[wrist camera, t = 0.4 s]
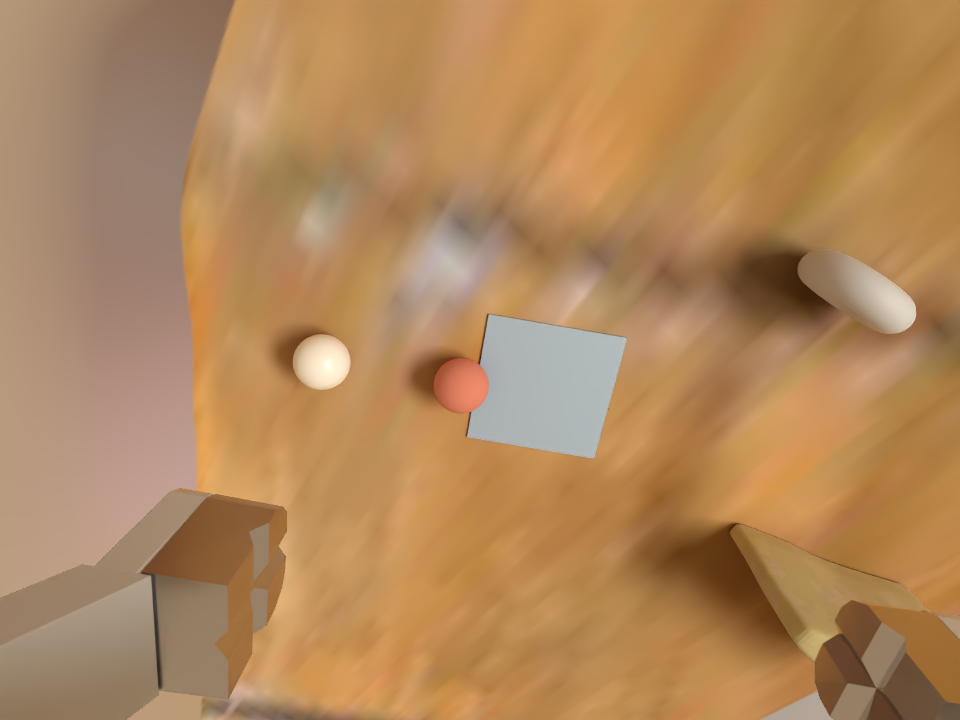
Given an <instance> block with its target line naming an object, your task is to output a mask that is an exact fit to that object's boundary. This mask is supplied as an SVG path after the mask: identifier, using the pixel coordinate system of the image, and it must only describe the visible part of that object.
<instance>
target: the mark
mask: <svg viewBox="0 0 960 720" xmlns="http://www.w3.org/2000/svg"><path fill="white" fill-rule="evenodd" d="M626 341H627V338H626V337H620V336H615V335H609V334H603V333H597V332H591V331H586V330H580V329H574V328H568V327H562V326H557V325H551V324H545V323H539V322H533V321H528V320H522V319H516V318H510V317H504V316H499V315H493V314H489V316H488V321H487V327H486V333H485V338H484V344H483V350H482V355H481V361H480V366H481V367H482V368H483V369H484V371H485V373H486V375H487V377H488V381H489V390H488V394H487V397H486V399H485V401H484V402H483V403H482V405H481V406H480V407H478V408H477V409H475V410H474V411H472V412H471V418H470V423H469V429H468V435H467V437H470V438H476V439H482V440H488V441H494V442H500V443H505V444H511V445H517V446H523V447H529V448H535V449H541V450H547V451H553V452H559V453H565V454H571V455H576V456H582V457H588V458H594V457H595V453H596V449H597V446H598V442H599V438H600V435H601V431H602V428H603V424H604V420H605V417H606V413H607V410H608V406H609V402H610V399H611V395H612V391H613V388H614V384H615V381H616V377H617V373H618V370H619V366H620V363H621V359H622V355H623V352H624V348H625V344H626Z"/></svg>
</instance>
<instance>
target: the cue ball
mask: <svg viewBox="0 0 960 720" xmlns="http://www.w3.org/2000/svg"><path fill="white" fill-rule="evenodd" d="M293 368H294V372H295V374H296V376H297V377H298V379H299V380H300V381H301V382H302V383H303V384H305V385H306V386H308V387H310V388H313V389H318V390H325V389H330V388H333V387H335V386H337V385H338V384H340V383H341V382H342V381H343V380H344V379H345V378H346V376H347V374H348V372H349V369H350V355H349V352H348V350H347V348H346V346H345V345H344V344H343V343H342V342H341V341H340V340H338V339H337V338H335V337H333V336H330V335H325V334H318V335H313V336H310V337H308V338H306V339H305V340H303V341H302V342H301V343H300V344H299V345H298V347H297V348H296V350H295V353H294V356H293Z"/></svg>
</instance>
